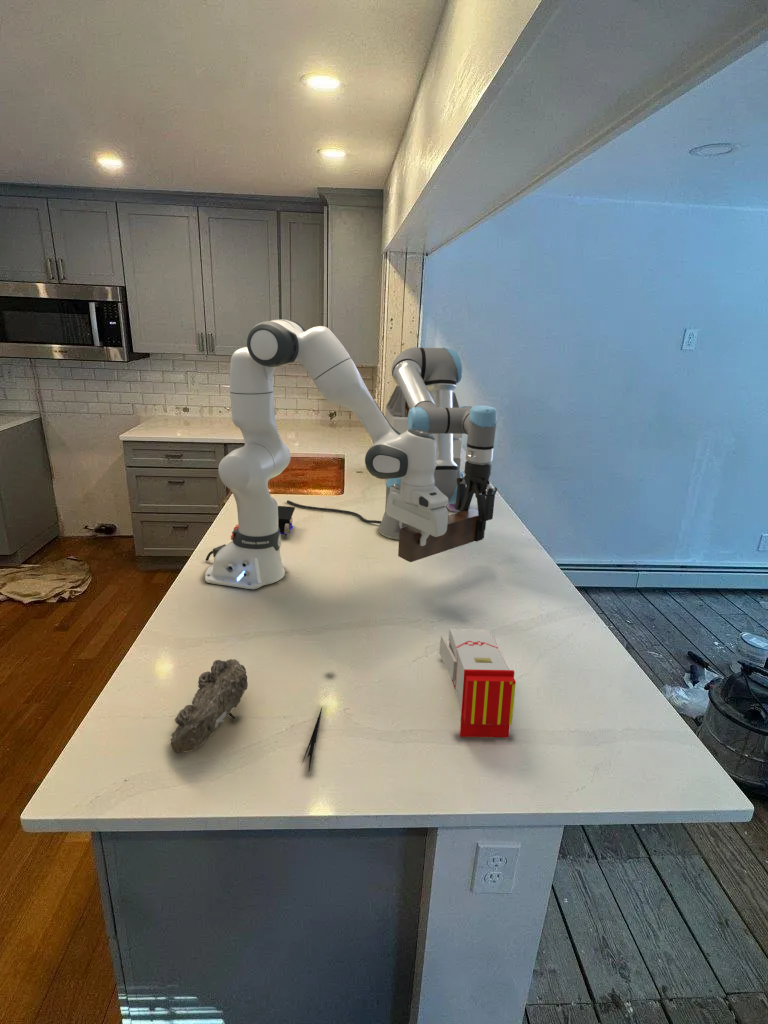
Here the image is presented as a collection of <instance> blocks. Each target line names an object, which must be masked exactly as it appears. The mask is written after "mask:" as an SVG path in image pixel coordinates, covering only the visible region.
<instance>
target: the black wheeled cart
mask: <svg viewBox="0 0 768 1024" xmlns="http://www.w3.org/2000/svg"><path fill="white" fill-rule="evenodd" d="M295 509H296V506H287V505H286V506H285V505H278V527H279V528H280V534H281V535H284V536H283V538H284V539H286V538H287V535H288V534H290V533H291V530H292V529H293V528H294V526H293V515H294V512H295Z"/></svg>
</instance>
